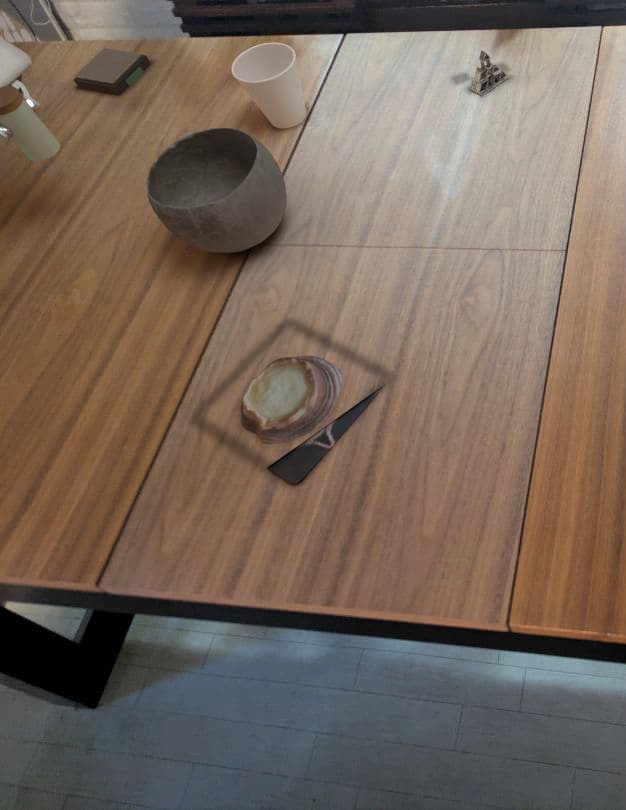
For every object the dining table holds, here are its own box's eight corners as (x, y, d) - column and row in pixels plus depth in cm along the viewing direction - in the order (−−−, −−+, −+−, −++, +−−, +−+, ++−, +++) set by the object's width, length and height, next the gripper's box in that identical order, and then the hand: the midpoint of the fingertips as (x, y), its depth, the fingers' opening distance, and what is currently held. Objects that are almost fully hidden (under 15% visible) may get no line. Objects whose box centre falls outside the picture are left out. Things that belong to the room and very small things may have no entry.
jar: (32, 167, 117) (-14, 114, 109) (21, 150, 120) (-25, 97, 111) (65, 150, 119) (23, 97, 110) (54, 134, 122) (11, 81, 113)
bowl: (249, 175, 131) (209, 105, 118) (326, 215, 123) (293, 144, 111) (163, 247, 123) (110, 180, 110) (240, 294, 116) (193, 228, 103)
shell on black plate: (390, 380, 104) (382, 364, 101) (296, 488, 96) (284, 475, 93) (290, 324, 111) (279, 308, 108) (195, 421, 104) (181, 407, 100)
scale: (123, 99, 147) (113, 84, 144) (81, 91, 150) (71, 77, 147) (154, 67, 152) (145, 52, 149) (113, 60, 155) (103, 46, 152)
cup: (302, 144, 134) (274, 85, 123) (249, 135, 137) (218, 77, 126) (330, 104, 140) (306, 45, 129) (279, 97, 142) (252, 38, 132)
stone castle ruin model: (488, 62, 142) (481, 25, 135) (517, 79, 138) (512, 41, 132) (454, 83, 139) (446, 47, 133) (482, 101, 136) (475, 65, 129)
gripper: (-22, 32, 116) (63, 94, 122) (-118, 111, 106) (-20, 174, 113) (-23, 9, 111) (66, 74, 117) (-123, 89, 102) (-20, 155, 108)
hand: (23, 123), depth 115 cm, fingers closed on jar, 5 cm apart
